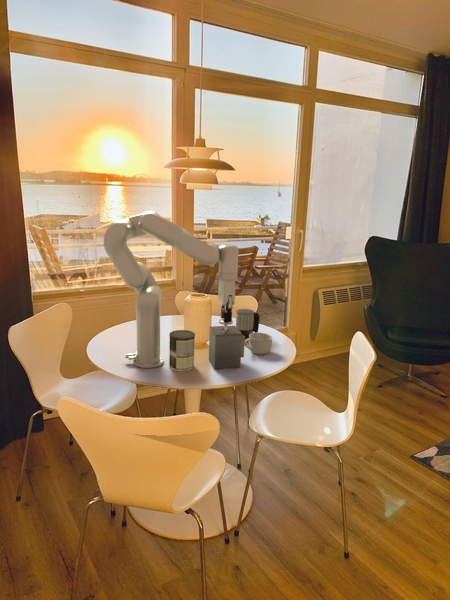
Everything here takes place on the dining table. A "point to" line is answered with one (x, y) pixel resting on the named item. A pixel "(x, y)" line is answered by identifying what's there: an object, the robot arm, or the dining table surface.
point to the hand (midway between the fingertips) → (226, 319)
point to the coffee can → (181, 350)
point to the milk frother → (247, 321)
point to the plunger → (223, 320)
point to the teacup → (259, 343)
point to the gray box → (226, 347)
